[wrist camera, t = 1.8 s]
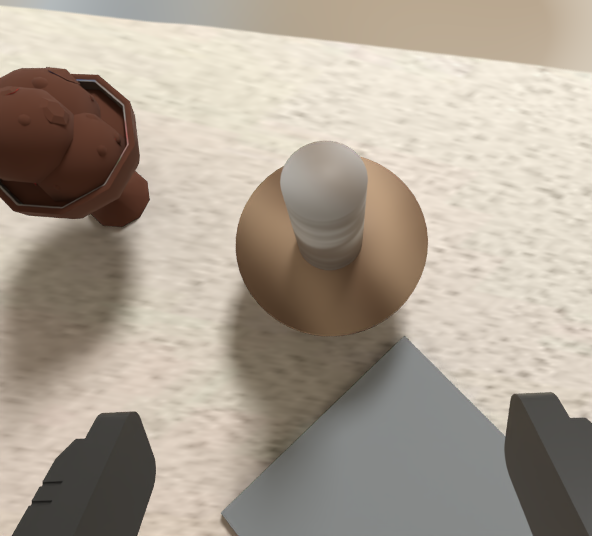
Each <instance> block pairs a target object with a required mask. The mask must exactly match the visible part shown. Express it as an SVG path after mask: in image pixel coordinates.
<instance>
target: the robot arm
mask: <svg viewBox="0 0 592 536" xmlns="http://www.w3.org/2000/svg"><path fill="white" fill-rule="evenodd" d="M504 453H505V461H506V466H507V470H508V474H509V476H510V479H511V482H512V484H513V487H514V489H515V492H516V494H517V497H518V499H519V502H520V504H521V507H522V509H523V512H524V514H525V517H526V520H527V522H528V525H529V527H530V530H531V532H532V535H533V536H592V423H591V422H590V421H589V420H588V419H586V418H570V417H569V416H568V414H567V412H566V411H565V409H564V407H563V405H562V404H561V402H560V400H559V399H558V397H557V396H556V395H555V394H554V393H552V392H546V393H526V394H513V395H512V397H511V401H510V408H509V415H508V422H507V429H506V437H505V444H504ZM155 475H156V464H155V458H154V455H153V452H152V449H151V447H150V444H149V441H148V438H147V435H146V433H145V430H144V427H143V424H142V421H141V418H140V416H139V414H138V413H137V412H116V413H102V414H100V415H98V417H97V418H96V419H95V421H94V423H93V425H92V427H91V429H90V431H89V432H88V434H87V436H86V438H85V439H75V440H74V441H73V442H72V443H71V444H70V445H69V446H68V447H67V448H66V449H65V450H64V451H63V452H62V453H61V454H60V455H59V456H58V457H57V458H56V459H55V461H54V463H53V464H52V466H51V468H50V470H49V471H48V473H47V475H46V477H45V478H44V480H43V485H42V486H41V487H39V489H38V491H37V492H36V494H35V496H34V498H33V499H32V505H31V506H29V507H28V508H27V510H26V512H25V514H24V515H23V517H22V519H21V521H20V522H19V524H18V526H17V528H16V529H15V531H14V533H13V535H12V536H137V535H138V532H139V529H140V526H141V523H142V520H143V517H144V514H145V511H146V508H147V505H148V502H149V499H150V496H151V493H152V490H153V487H154V483H155Z"/></svg>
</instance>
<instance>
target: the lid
mask: <svg viewBox="0 0 592 536" xmlns="http://www.w3.org/2000/svg"><path fill="white" fill-rule="evenodd" d="M427 248H428V236H427V227H426V223H425V219H424V216H423V213H422V210H421V208H420V206H419V204H418V202H417V200H416V198H415V197H414V195H413V194H412V192H411V191H410V190H409V188H408V187H407V186H406V185H405V184H404V183H403V182H402V181H401V180H400V179H399V178H398V177H397V176H396V175H395V174H393V173H392V172H391V171H390V170H388V169H386V168H385V167H383V166H381V165H380V164H378V163H375V162H373V161H371V160H369V159H366V158H362V157H360V156H359V155H358V154H357V153H356V152H355V151H354V150H352V149H351V148H349V147H348V146H346V145H343V144H341V143H338V142H333V141H318V142H313V143H310V144H307V145H305V146H303V147H301V148H300V149H298V150H297V151H296V152H294V153H293V154H292V155H291V156H290V158H289V159H288V160H287V162H286V163H285V165H284V166H283V167H281V168H280V169H278V170H276V171H275V172H274V173H272V174H271V175H270V176H268V177H267V178H266V179H265V180H264V181H263V182H262V183H261V184H260V185H259V186H258V187H257V189H256V190H255V191H254V192H253V194H252V195H251V197H250V198H249V200H248V202H247V203H246V205H245V207H244V210H243V212H242V214H241V217H240V220H239V224H238V228H237V234H236V256H237V262H238V266H239V270H240V273H241V276H242V278H243V281H244V283H245V285H246V287H247V288H248V290H249V292H250V294H251V295H252V296H253V297H254V299H255V300H256V301H257V303H258V304H259V305H260V306H261V307H262V308H263V309H264V310H265V311H266V312H267V313H268V314H269V315H271V316H272V317H273V318H275V319H276V320H277V321H279V322H281V323H282V324H284V325H286V326H288V327H290V328H292V329H295V330H298V331H300V332H303V333H308V334H312V335H318V336H343V335H350V334H354V333H358V332H361V331H365V330H367V329H369V328H372V327H374V326H376V325H378V324H379V323H381V322H383V321H384V320H386V319H388V318H389V317H390V316H391V315H393V314H394V313H395V312H396V311H397V310H398V309H399V308H400V307H401V306H402V305H403V304H404V303H405V302H406V301H407V299H408V298H409V297H410V295H411V294H412V292H413V291H414V289H415V287H416V285H417V283H418V281H419V279H420V277H421V275H422V272H423V269H424V266H425V262H426V257H427Z"/></svg>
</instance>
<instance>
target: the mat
mask: <svg viewBox="0 0 592 536" xmlns="http://www.w3.org/2000/svg"><path fill="white" fill-rule="evenodd" d="M504 444H505V436H504V435H503V434H502V433H501V432H500V431H499V430H498V429H497V428H496V427H495V426H494V425H493V424H492V423H491V422H490V421H489V420H488V419H487V418H486V417H485V416H484V415H483V414H482V413H481V412H480V411H479V410H478V409H477V408H476V407H475V406H474V405H473V404H472V403H471V402H470V401H469V400H468V399H467V398H466V397H465V396H464V395H463V394H462V393H461V392H460V391H459V390H458V389H457V388H456V387H455V386H454V385H453V384H452V383H451V382H450V381H449V380H448V379H447V378H446V377H445V376H444V375H443V374H442V373H441V372H440V371H439V370H438V369H437V368H436V367H435V366H434V365H433V364H432V363H431V362H430V361H429V360H428V359H427V358H426V357H425V356H424V355H423V354H422V353H421V352H420V351H419V350H418V349H417V348H416V347H415V346H414V345H413V344H412V343H411V342H410V341H409V340H408V339H407V338H406V337H405V336H404V337H403V338H402V339H401V340H400V341H399V342H397V343H396V344H395V345H394V346H393V347H392V348H391V349H390V350H389V351H388V352H387V353H386V354H385V355H384V356H383V357H382V358H381V359H380V360H379V361H378V362H377V363H376V364H375V365H374V366H373V367H372V368H371V369H369V370H368V371H367V372H366V373H365V374H364V375H363V376H362V377H361V378H360V379H359V380H358V381H357V382H356V383H355V384H354V385H353V386H352V387H351V388H350V389H349V390H348V391H347V392H346V393H345V394H344V395H343V396H341V397H340V398H339V399H338V400H337V401H336V402H335V403H334V404H333V405H332V406H331V407H330V408H329V409H328V410H327V411H326V412H325V413H324V414H323V415H322V416H321V417H320V418H319V419H318V420H317V421H316V422H315V423H313V424H312V425H311V426H310V427H309V428H308V429H307V430H306V431H305V432H304V433H303V434H302V435H301V436H300V437H299V438H298V439H297V440H296V441H295V442H294V443H293V444H292V445H291V446H290V447H289V448H288V449H287V450H285V451H284V452H283V453H282V454H281V455H280V456H279V457H278V458H277V459H276V460H275V461H274V462H273V463H272V464H271V465H270V466H269V467H268V468H267V469H266V470H265V471H264V472H263V473H262V474H261V475H260V476H259V477H257V478H256V479H255V480H254V481H253V482H252V483H251V484H250V485H249V486H248V487H247V488H246V489H245V490H244V491H243V492H242V493H241V494H240V495H239V496H238V497H237V498H236V499H235V500H234V501H233V502H232V503H231V504H229V505H228V506H227V507H226V508H225V509H224V510H223V511H222V512H221V514H222V515H223V517H224V518H225V519H226V520H227V522H228V523H229V524H230V526H231V527H232V528H233V530H234V531H235V532H236V534H237V535H238V536H533V535H532V532H531V530H530V527H529V525H528V522H527V520H526V517H525V514H524V512H523V509H522V507H521V504H520V502H519V499H518V497H517V494H516V492H515V489H514V487H513V484H512V482H511V479H510V476H509V474H508V470H507V466H506V461H505V453H504Z"/></svg>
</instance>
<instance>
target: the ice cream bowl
mask: <svg viewBox="0 0 592 536" xmlns="http://www.w3.org/2000/svg"><path fill="white" fill-rule="evenodd" d="M139 157H140V154H139V146H138V138H137V129H136V121H135V115H134V112H133V109H132V106H131V104H130V101H129V100H127V99H126V98H125V97H124V96H123V95H121V94H120V93H119V92H118V91H117V90H116V89H114V88H113V87H112V86H111V85H110V84H108V83H107V82H106V81H105V80H104V79H102V78H101V77H100V76H99V75H86V74H70V73H69V72H68V71H67V70H66V69H59V68H50V67H46V68H22V69H18V70H14V71H12V72H11V73H9V74H7V75H5V76H3V77H1V78H0V198H1V199H2V200H3V201H4V202H5V203H6V204H7V205H8V206H9V207H10V208H11V209H12V210H13V211H15V212H19V213H22V214H26V215H29V216H41V217H54V218H68V219H80V218H84V217H86V216H87V215H89V214H92V215H93V216H94V217H95V218H96V219H97V220H98V221H99V222H100V223H101V224H102V225H103V226H116V227H123V226H125V225H126V224H128V223H130V222H132V221H134V220H135V219H137V218H139V217H140V216H141V214H142V212H143V210H144V209H145V207H146V205H147V203H148V201H149V200H150V199H149V191H148V183H147V181H146V180H145V179H144V178H142V177H141V176H140V175H139V174H138V173H137V172H136V171H135V170H136V168H137V166H138V164H139Z"/></svg>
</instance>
